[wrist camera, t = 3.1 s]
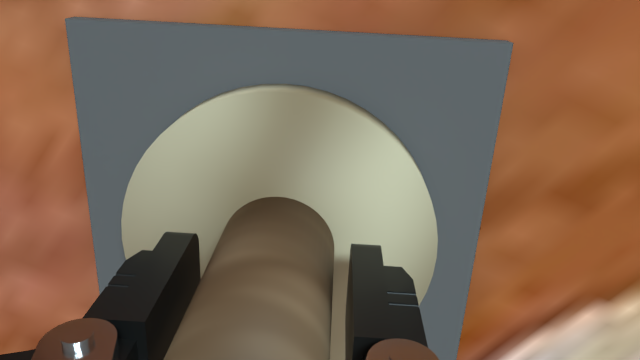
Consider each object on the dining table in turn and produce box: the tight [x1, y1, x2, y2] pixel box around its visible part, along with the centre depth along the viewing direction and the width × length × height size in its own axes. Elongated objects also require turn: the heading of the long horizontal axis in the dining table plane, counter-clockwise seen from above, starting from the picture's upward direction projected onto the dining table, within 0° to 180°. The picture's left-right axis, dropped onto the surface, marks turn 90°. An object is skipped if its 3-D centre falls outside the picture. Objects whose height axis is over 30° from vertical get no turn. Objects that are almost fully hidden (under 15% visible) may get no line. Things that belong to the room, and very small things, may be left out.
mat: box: [65, 17, 513, 360], centre depth 15 cm, size 11×11×1 cm
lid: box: [121, 84, 438, 360], centre depth 12 cm, size 8×8×7 cm
